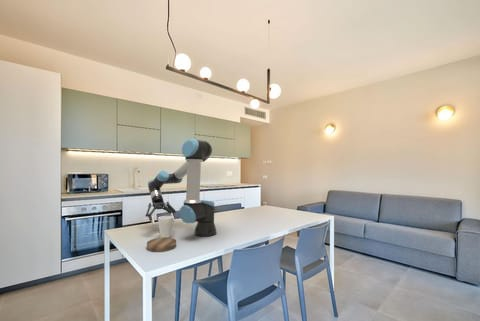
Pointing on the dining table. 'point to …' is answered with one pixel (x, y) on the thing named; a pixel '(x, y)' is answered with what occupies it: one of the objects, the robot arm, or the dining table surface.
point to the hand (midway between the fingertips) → (163, 223)
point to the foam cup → (165, 226)
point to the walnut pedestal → (161, 244)
